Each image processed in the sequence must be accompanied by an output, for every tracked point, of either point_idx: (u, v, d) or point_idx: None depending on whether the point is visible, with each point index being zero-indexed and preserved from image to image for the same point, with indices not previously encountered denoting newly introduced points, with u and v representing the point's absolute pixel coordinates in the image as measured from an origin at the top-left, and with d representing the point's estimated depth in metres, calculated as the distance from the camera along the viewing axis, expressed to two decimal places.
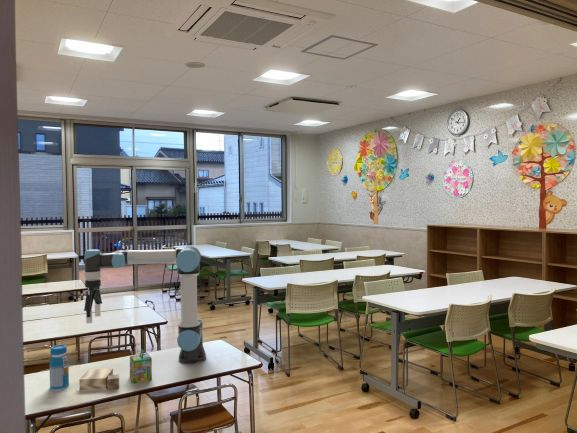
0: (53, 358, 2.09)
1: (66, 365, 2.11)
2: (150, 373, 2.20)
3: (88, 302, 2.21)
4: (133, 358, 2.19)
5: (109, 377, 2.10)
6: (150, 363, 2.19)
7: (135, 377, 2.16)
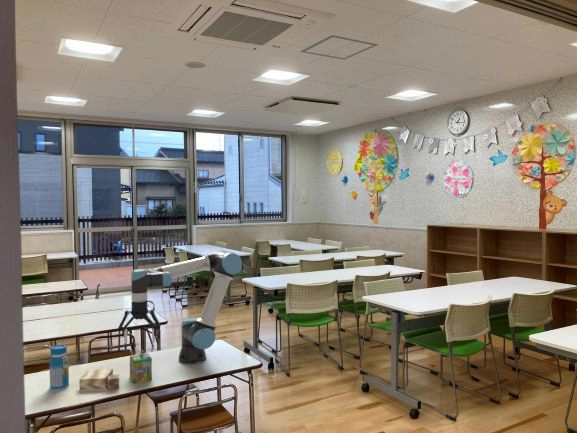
0: (53, 358, 2.09)
1: (66, 365, 2.11)
2: (150, 373, 2.20)
3: None
4: (133, 358, 2.19)
5: (109, 377, 2.10)
6: (150, 363, 2.19)
7: (135, 377, 2.16)
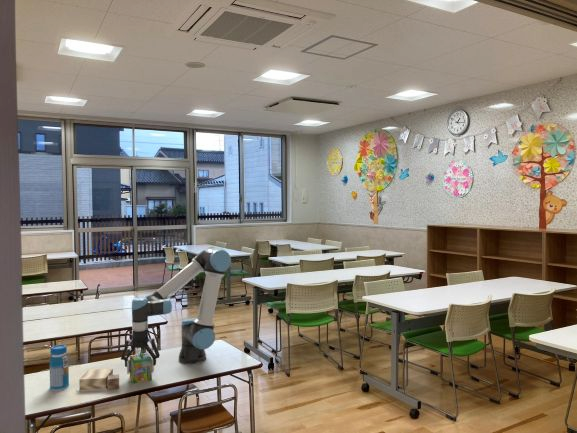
0: (53, 358, 2.09)
1: (66, 365, 2.11)
2: (150, 373, 2.19)
3: None
4: (133, 358, 2.19)
5: (109, 377, 2.10)
6: (150, 363, 2.19)
7: (135, 377, 2.16)
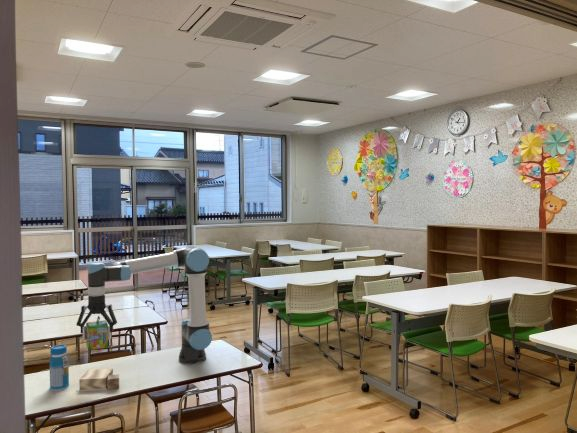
0: (53, 358, 2.09)
1: (66, 365, 2.11)
2: (106, 340, 2.13)
3: None
4: (89, 324, 2.12)
5: (109, 377, 2.10)
6: (106, 329, 2.13)
7: (90, 343, 2.09)
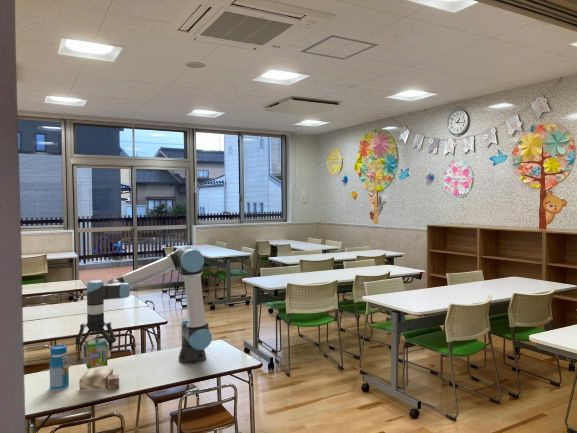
0: (53, 358, 2.09)
1: (66, 365, 2.11)
2: (105, 358, 2.13)
3: None
4: (88, 342, 2.12)
5: (109, 377, 2.10)
6: (105, 347, 2.13)
7: (89, 362, 2.09)
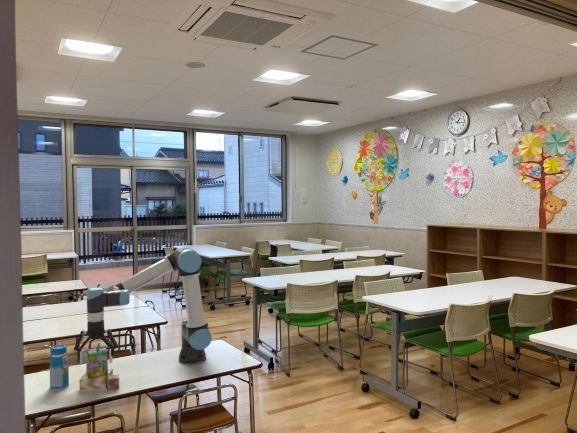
0: (53, 358, 2.09)
1: (66, 365, 2.11)
2: (106, 367, 2.13)
3: (77, 342, 2.13)
4: (89, 351, 2.13)
5: (109, 377, 2.10)
6: (106, 357, 2.13)
7: (90, 371, 2.10)
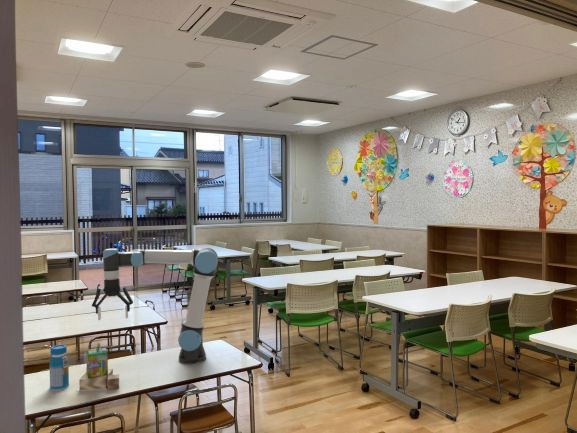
0: (53, 358, 2.09)
1: (66, 365, 2.11)
2: (106, 367, 2.13)
3: (94, 299, 2.28)
4: (89, 351, 2.13)
5: (109, 377, 2.10)
6: (106, 357, 2.13)
7: (90, 371, 2.10)
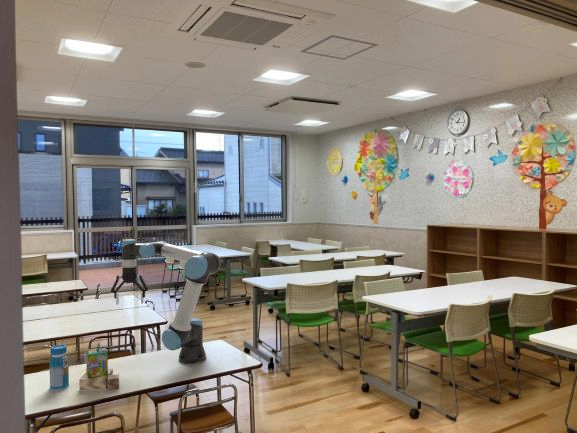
0: (53, 358, 2.09)
1: (66, 365, 2.11)
2: (106, 367, 2.13)
3: (113, 285, 2.48)
4: (89, 351, 2.13)
5: (109, 377, 2.10)
6: (106, 357, 2.13)
7: (90, 371, 2.10)
